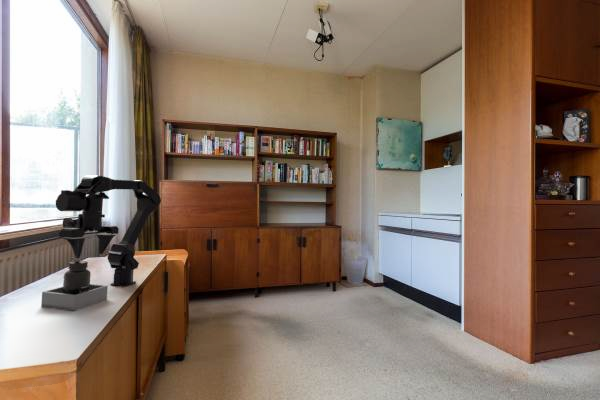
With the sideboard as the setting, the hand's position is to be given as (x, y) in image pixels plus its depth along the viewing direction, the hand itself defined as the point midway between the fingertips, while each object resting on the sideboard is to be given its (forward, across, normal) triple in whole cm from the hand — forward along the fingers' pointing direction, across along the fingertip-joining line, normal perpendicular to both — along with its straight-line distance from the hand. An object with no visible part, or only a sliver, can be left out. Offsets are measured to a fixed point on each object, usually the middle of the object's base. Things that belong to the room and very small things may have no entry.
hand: (89, 256), depth 104 cm
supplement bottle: (+12, +9, +5) cm, 16 cm away
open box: (+13, +9, +5) cm, 17 cm away
